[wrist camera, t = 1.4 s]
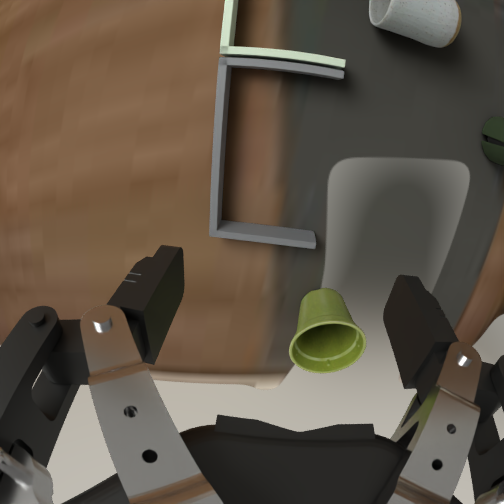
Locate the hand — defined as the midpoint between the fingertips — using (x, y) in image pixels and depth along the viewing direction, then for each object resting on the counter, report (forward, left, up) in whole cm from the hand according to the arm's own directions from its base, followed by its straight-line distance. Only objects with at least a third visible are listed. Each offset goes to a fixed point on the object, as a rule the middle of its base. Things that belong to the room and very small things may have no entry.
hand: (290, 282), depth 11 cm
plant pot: (-8, +20, -24) cm, 33 cm away
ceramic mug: (-11, -20, -24) cm, 34 cm away
